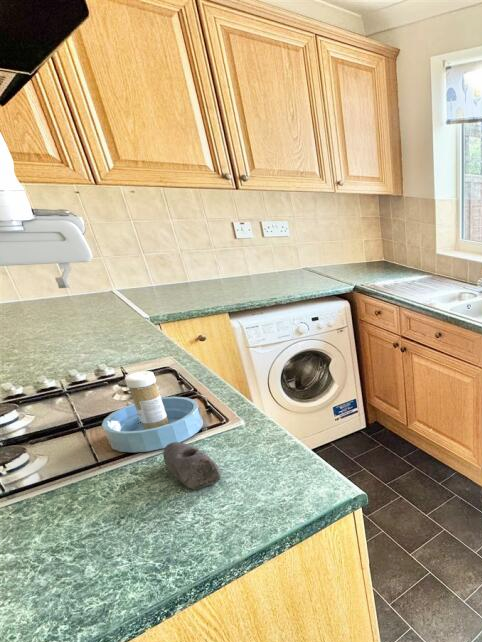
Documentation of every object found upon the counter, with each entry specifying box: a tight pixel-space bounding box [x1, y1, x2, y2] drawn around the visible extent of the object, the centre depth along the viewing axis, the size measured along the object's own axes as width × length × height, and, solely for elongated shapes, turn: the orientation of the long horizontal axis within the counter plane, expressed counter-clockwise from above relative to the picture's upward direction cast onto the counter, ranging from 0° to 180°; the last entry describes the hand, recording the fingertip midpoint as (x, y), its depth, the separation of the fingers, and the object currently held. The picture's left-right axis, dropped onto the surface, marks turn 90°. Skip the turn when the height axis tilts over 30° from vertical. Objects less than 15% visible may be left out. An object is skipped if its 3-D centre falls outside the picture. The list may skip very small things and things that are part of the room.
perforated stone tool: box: [163, 442, 221, 491], centre depth 77 cm, size 15×5×7 cm, turn 56°
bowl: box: [101, 396, 204, 454], centre depth 89 cm, size 16×16×6 cm
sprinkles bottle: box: [124, 370, 169, 430], centre depth 87 cm, size 5×5×14 cm
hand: (28, 290), depth 76 cm, fingers open, 8 cm apart
